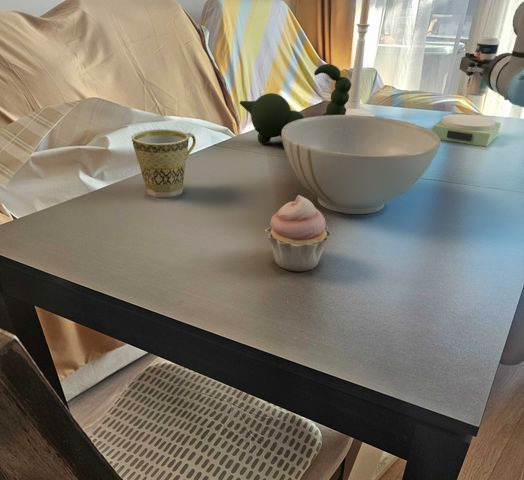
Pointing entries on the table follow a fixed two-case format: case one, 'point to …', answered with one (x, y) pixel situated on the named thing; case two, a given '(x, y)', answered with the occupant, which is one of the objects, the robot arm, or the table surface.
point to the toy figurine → (279, 113)
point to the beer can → (483, 51)
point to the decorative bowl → (358, 159)
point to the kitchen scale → (467, 129)
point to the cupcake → (298, 235)
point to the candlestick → (358, 67)
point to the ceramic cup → (162, 160)
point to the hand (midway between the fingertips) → (477, 59)
